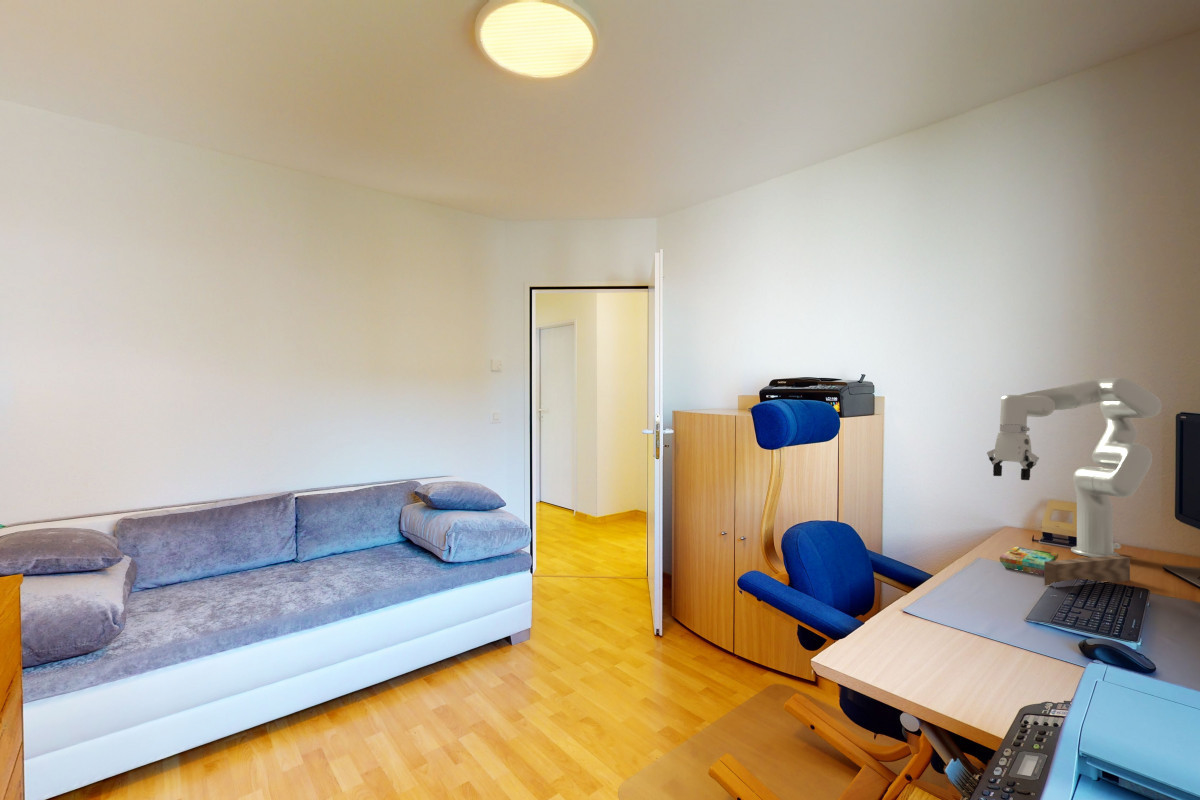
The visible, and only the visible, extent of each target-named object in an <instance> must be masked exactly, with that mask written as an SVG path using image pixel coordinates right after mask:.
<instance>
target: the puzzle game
mask: <svg viewBox="0 0 1200 800" xmlns="http://www.w3.org/2000/svg"><path fill="white" fill-rule="evenodd" d="M1058 559H1059V553H1057V552H1050V551H1045V550H1038V549H1033V548H1027V547H1020V546H1014V547H1012V548H1011V549H1010V550H1008V551H1006V552H1004V553H1003V554H1001V555H1000V557H999V561H1000V564H1001V565H1003V568H1005V567H1007V568H1006V569H1008V568H1013V569H1018V570H1023V571H1022V572H1024V571H1027V572H1026V573H1029V572H1033V573H1032V574H1034V573H1038V574H1037V575H1039V574H1042V575H1043V574H1044V562H1046V561H1057V560H1058ZM1013 569H1012V570H1013ZM1018 570H1017V571H1018Z"/></svg>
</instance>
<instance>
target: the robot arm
mask: <svg viewBox="0 0 1200 800" xmlns="http://www.w3.org/2000/svg"><path fill="white" fill-rule="evenodd" d="M1098 403H1099V409H1100V411H1101V414H1102V416H1103V418H1104V421H1105V423H1106V424H1105V426H1106V427H1105V430H1104V432H1103V434H1102V436H1101V437H1100V439H1099V441H1098V443H1097V444H1096V445H1095V447H1094V450H1093V451H1092V454H1091V459H1092V461H1093V463H1094V464H1096V465H1097V466H1094V465H1093V466H1092V465H1089V466H1087V465H1086V466H1082V467H1079V468H1077V469H1076V470H1075V471H1074V472H1073V475H1072V481H1073V487H1074V490H1075V494H1076V546H1072V547H1071V548H1070V550H1071V552H1072V553H1074V554H1076V555H1080V556H1084V557H1088V558H1091V557H1102V556H1113V555H1120V554H1119V553H1118V552H1115V550H1117V549H1121V547H1122V545H1121V544H1120V543H1118V542H1115V543H1114V508H1113V507H1114V506H1113V502H1112V501H1111V499H1110V498H1109V496H1110V497H1114V498H1115V497H1117V498H1128V497H1131V496H1132V495H1134V494H1135V493H1136V492H1137V490H1138V488H1140V486H1141V484H1142V482H1143V480H1144V479H1145V477H1146V475H1147V474H1148V471H1149V470H1150V468H1151V467H1152V463H1153V452H1152V451H1151V449H1150V448H1148V446H1145V445H1143V444H1141V443H1135V442H1136V440H1137V439H1138V436H1139V435H1138V429H1137V427H1136V426H1135V424H1134V423H1133V421H1132V419H1148V418H1150V419H1151V418H1153V417H1156V416H1157V415H1159V414H1160V413H1161V412H1162V411H1161V410H1162V407H1163V406H1162V401H1161V399H1160V398H1159V397H1158V396H1157V395H1155V394H1154V393H1152V392H1150V391H1149V390H1147V388H1145V387H1143V386H1141V385H1139V383H1138V384H1137V383H1136V382H1134V381H1132V380H1130V379H1127V378H1125V377H1104V378H1103V377H1102V378H1101V377H1100V378H1091V379H1087V380H1083V381H1080V382H1075V383H1072V384H1071V383H1070V384H1067V385H1063V386H1057V387H1052V388H1048V389H1047V388H1046V389H1042V390H1036V391H1031V392H1026V393H1023V394H1005V395H1003V396H1001V399H1000V411H999V412H1000V415H999V417H1000V418H999V432H997V435H996V439H995V445H994V448H993V449H992V450H989V451H987V452H986V455H987V456H988V460H989V461H990V462H991V464H992V466H993V468H992V469H993V470H992V472H993V473H992V476H994V477H1002V475H1003V474H1002V473H1003V466H1002V463H1004V462H1011V463H1019V464H1020V465H1021V467H1022V468H1021V469H1020V480H1021V481H1030V478H1031V470H1032V469H1033V467H1035V466H1036V465H1037V462H1038V461H1039V459H1040V457H1039V456H1037V455H1036V454H1034V453H1033V451H1032V443H1031V437H1030V434H1027V432H1030V427H1028V417H1033V418H1042V417H1043V418H1044V417H1048V416H1049V415H1051V414H1053V413H1054V412H1055V411H1057V410H1058V411H1063V410H1064V411H1065V410H1071V409H1073V410H1075V409H1078V408H1081V407H1085V406H1089V405H1093V404H1098Z"/></svg>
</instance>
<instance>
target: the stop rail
mask: <svg viewBox="0 0 1200 800" xmlns="http://www.w3.org/2000/svg"><path fill="white" fill-rule="evenodd" d="M1043 574H1044V577H1043V578H1044V586H1046V585H1050V584H1051V583H1053V582H1055V583H1056V582H1060V581H1066V580H1074V579H1088V580H1096V581H1107V582H1112V583H1121V582H1130V581H1131V558H1130V557H1128V556H1123V555H1120V554H1119V555H1113V556H1102V557H1081V558H1071V559H1060V560H1058V559H1056V560H1055V561H1046V562H1044V573H1043Z"/></svg>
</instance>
